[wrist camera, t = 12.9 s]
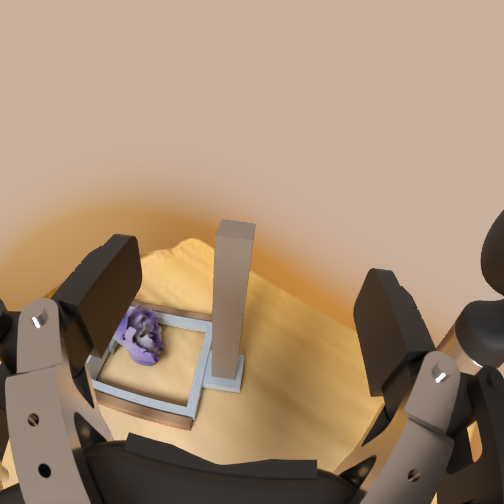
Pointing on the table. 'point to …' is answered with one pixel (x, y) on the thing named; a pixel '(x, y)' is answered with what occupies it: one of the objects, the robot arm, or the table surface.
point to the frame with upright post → (207, 325)
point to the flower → (139, 336)
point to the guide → (141, 410)
